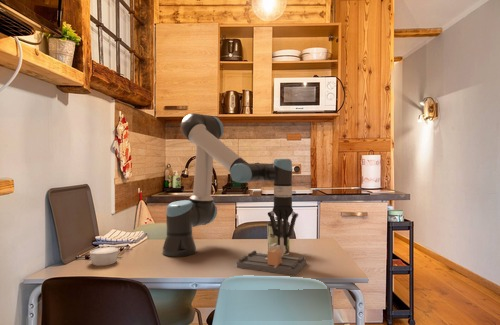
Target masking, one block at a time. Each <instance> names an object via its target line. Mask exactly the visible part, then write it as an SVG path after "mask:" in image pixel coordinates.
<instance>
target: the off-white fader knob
mask: <svg viewBox="0 0 500 325" xmlns="http://www.w3.org/2000/svg"><path fill="white" fill-rule="evenodd" d="M271 249H280V245H278V243H273V244H272V245H270V250H271ZM282 256H283V254H282Z"/></svg>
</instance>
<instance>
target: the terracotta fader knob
mask: <svg viewBox="0 0 500 325" xmlns="http://www.w3.org/2000/svg"><path fill="white" fill-rule="evenodd" d="M267 252H268V253H267V254H268V265H274V266H278V265H279V264H280V263H282V250H280V249H271V250H269V251H268V250H267Z"/></svg>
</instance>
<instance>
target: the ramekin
mask: <svg viewBox="0 0 500 325" xmlns="http://www.w3.org/2000/svg"><path fill="white" fill-rule="evenodd" d="M119 251H120V250H119V248H118V247H113V246H111V247H110V246H109V247H108V246H107V247H99V248H95V249H92V250H89V256H90V261H91V265H93V266H96V267H103V266H109V265H113V264H115V263H116V262H117V261H118V257H119V256H118V255H119Z"/></svg>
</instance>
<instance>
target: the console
mask: <svg viewBox="0 0 500 325" xmlns="http://www.w3.org/2000/svg"><path fill="white" fill-rule="evenodd" d="M306 264H307V258H305V256H304V255H302V256H300V257H293V256H288V255H284V256H282V263H280V264H279V265H278V266H274V265H268V253H261V252H257V250H253V251H251V252H249V253H248V254H247V255H244V256H242V257H241V258H239V259H238V261H237V262H236V268H238V269H239V268H240V269H246V270H254V271H262V272H269V273H276V274H283V275H290V276H296V275H297V274H298V273H299V272H300V271H301V270H302V269H303V268H304V267H305V266H306Z"/></svg>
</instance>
